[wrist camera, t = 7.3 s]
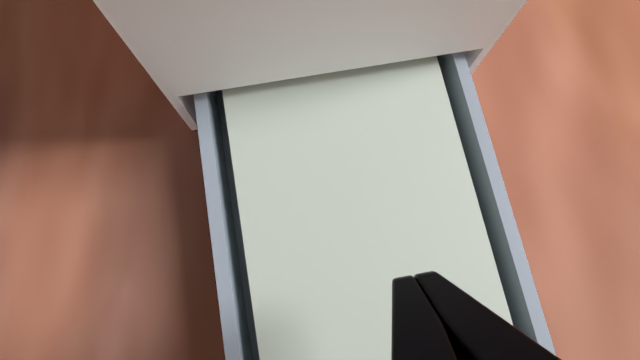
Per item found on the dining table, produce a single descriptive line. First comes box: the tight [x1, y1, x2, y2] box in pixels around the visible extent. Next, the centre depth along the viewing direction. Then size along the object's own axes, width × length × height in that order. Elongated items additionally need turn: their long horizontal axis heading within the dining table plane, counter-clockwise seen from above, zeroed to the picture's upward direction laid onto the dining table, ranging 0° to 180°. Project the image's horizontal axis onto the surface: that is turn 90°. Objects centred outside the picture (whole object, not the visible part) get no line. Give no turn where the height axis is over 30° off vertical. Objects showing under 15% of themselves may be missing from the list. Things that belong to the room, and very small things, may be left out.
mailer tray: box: [194, 52, 556, 360], centre depth 14 cm, size 12×9×2 cm
